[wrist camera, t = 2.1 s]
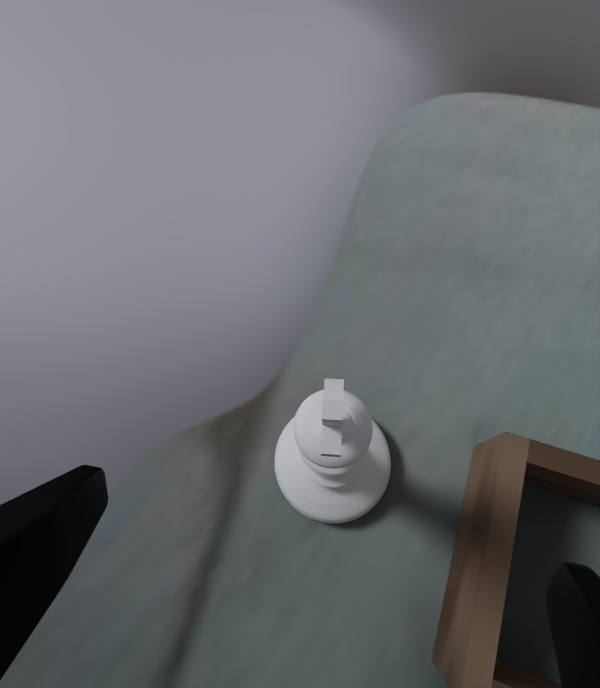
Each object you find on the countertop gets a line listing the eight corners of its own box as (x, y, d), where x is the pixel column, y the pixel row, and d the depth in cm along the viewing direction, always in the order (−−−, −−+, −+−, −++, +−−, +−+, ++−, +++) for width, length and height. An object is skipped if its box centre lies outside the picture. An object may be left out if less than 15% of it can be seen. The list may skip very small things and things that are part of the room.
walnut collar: (675, 760, 14) (780, 836, 11) (431, 659, 15) (458, 699, 12) (683, 512, 17) (770, 513, 13) (474, 445, 18) (506, 431, 15)
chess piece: (390, 407, 19) (448, 307, 10) (390, 528, 17) (461, 550, 8) (280, 401, 19) (232, 299, 10) (269, 518, 17) (199, 527, 8)
